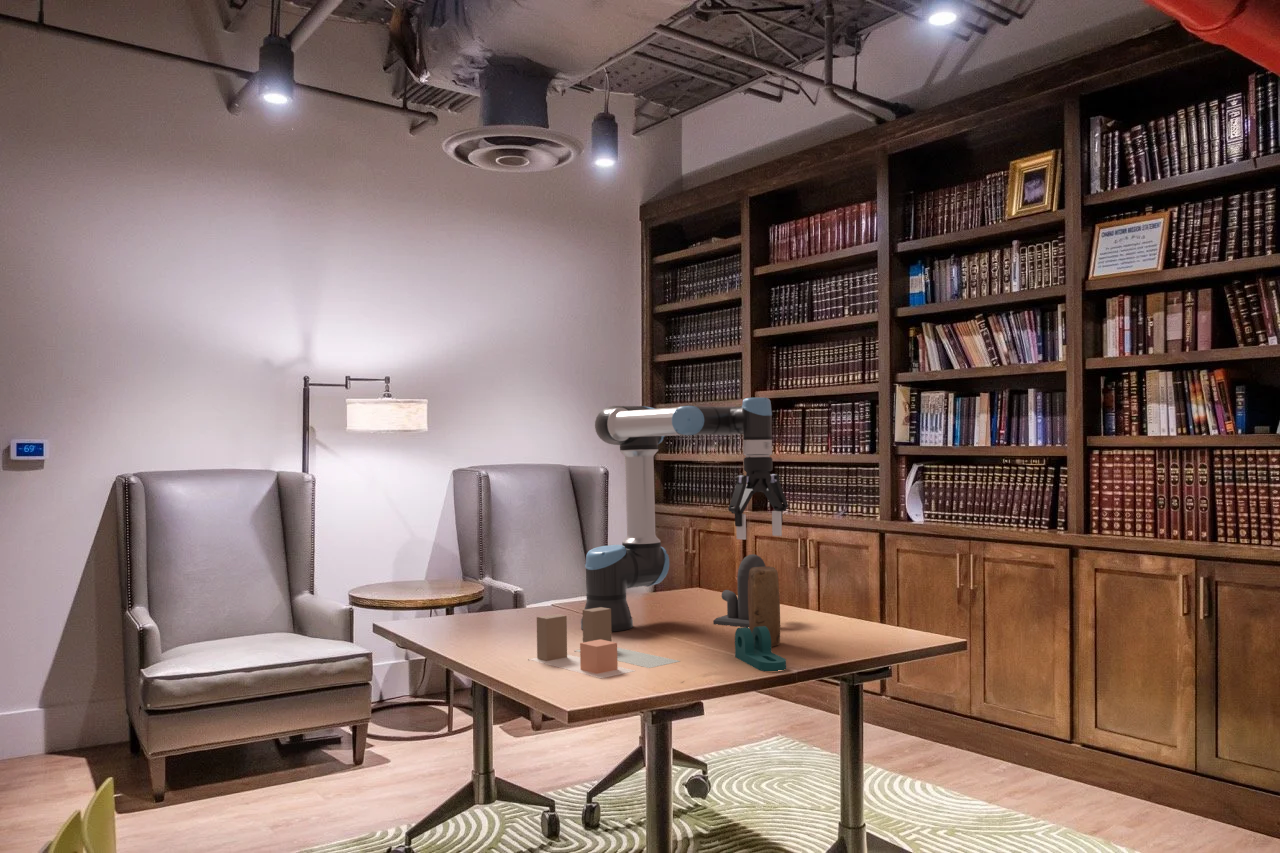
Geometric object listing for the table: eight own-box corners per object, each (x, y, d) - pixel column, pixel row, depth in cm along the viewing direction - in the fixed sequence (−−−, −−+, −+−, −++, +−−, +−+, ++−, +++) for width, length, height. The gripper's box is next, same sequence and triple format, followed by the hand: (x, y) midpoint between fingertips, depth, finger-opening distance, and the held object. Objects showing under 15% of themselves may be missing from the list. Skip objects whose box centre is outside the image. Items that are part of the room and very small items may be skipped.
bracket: (735, 658, 236) (734, 625, 237) (760, 656, 238) (760, 624, 238) (763, 673, 219) (763, 638, 219) (791, 671, 221) (790, 636, 221)
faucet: (791, 621, 286) (790, 553, 286) (767, 629, 273) (766, 558, 273) (737, 616, 296) (736, 550, 296) (712, 624, 283) (710, 555, 283)
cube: (580, 669, 219) (580, 643, 219) (601, 665, 223) (600, 639, 223) (597, 673, 215) (596, 646, 215) (617, 669, 219) (617, 642, 219)
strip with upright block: (574, 655, 241) (573, 610, 241) (605, 649, 247) (604, 605, 248) (649, 673, 220) (648, 623, 220) (680, 666, 226) (679, 618, 227)
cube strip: (528, 664, 231) (527, 617, 232) (561, 657, 238) (560, 612, 238) (601, 683, 210) (600, 632, 211) (635, 676, 217) (635, 626, 217)
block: (782, 647, 246) (780, 569, 247) (753, 648, 246) (751, 570, 247) (774, 639, 257) (773, 564, 258) (746, 640, 257) (745, 565, 258)
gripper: (734, 457, 242) (736, 541, 241) (800, 455, 258) (802, 535, 257) (713, 457, 248) (715, 539, 247) (779, 455, 264) (780, 533, 263)
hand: (759, 537), depth 252 cm, fingers open, 13 cm apart
